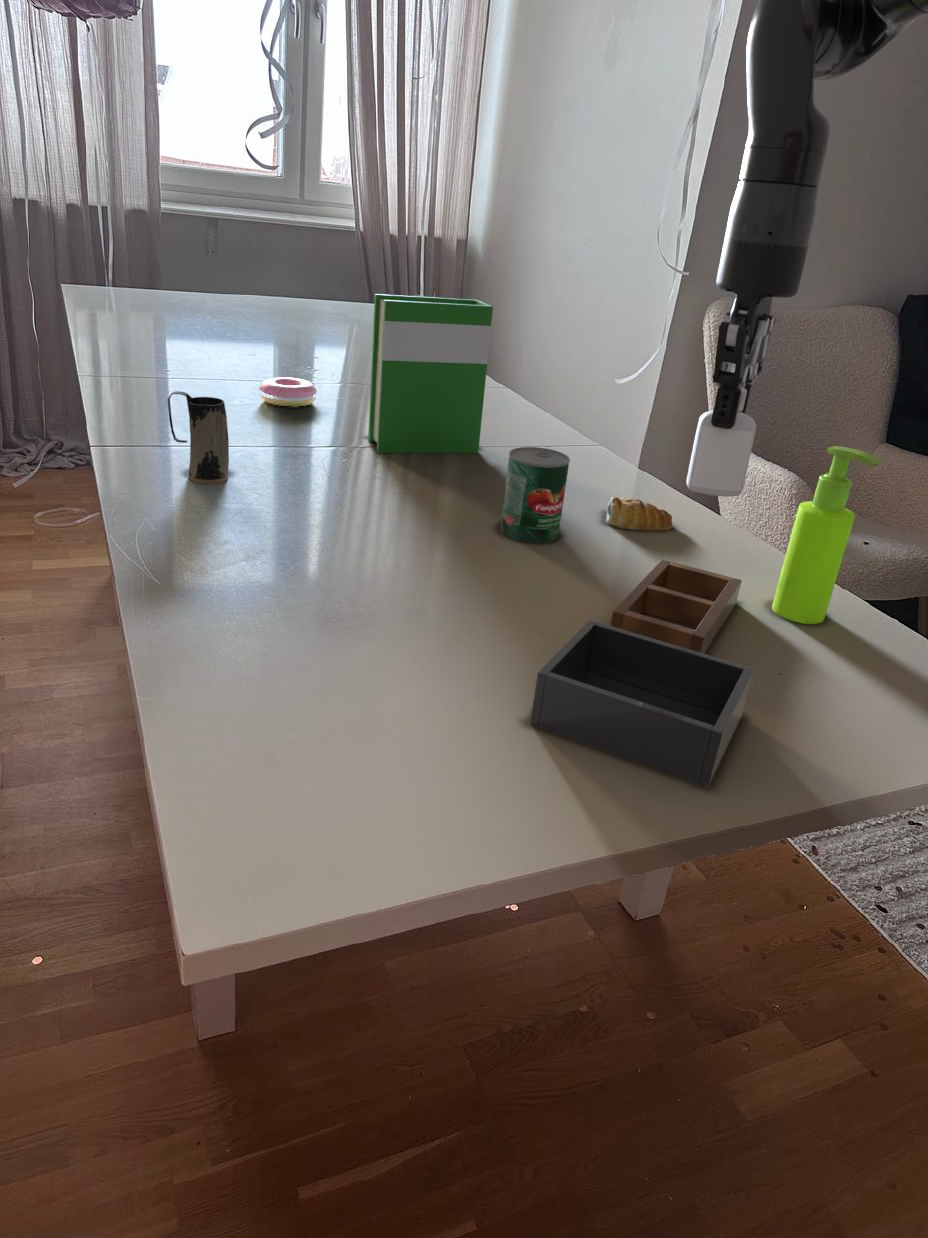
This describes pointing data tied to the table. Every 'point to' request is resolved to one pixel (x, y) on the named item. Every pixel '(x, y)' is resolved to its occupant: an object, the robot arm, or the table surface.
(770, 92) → the robot arm
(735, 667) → the dark grey open box
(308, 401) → the doughnut
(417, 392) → the hardback book
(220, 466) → the mug
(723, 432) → the eye dropper bottle
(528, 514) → the canned tomato
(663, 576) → the tray
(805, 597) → the soap dispenser
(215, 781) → the table surface
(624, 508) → the pastry
